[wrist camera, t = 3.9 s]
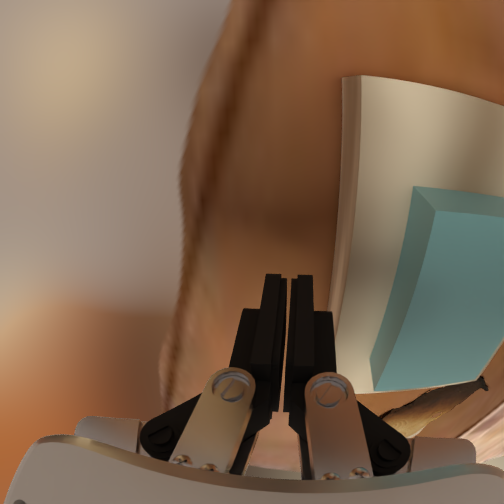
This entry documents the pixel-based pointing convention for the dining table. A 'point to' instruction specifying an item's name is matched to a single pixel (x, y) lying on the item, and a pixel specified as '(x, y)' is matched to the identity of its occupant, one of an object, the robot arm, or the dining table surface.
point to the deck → (398, 193)
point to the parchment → (430, 407)
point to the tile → (443, 292)
